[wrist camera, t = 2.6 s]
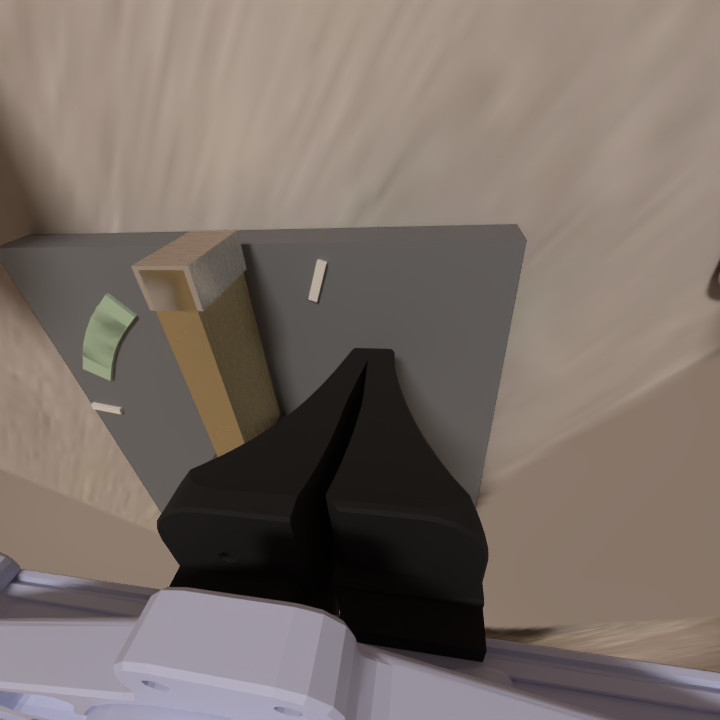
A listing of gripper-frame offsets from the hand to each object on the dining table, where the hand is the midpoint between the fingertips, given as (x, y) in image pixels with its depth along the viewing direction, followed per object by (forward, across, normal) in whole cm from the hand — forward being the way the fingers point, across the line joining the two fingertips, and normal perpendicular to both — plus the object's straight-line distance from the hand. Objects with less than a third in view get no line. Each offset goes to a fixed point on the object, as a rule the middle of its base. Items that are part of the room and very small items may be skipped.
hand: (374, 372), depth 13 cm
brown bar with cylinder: (+1, +5, +1) cm, 5 cm away
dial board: (+3, +5, +5) cm, 7 cm away
